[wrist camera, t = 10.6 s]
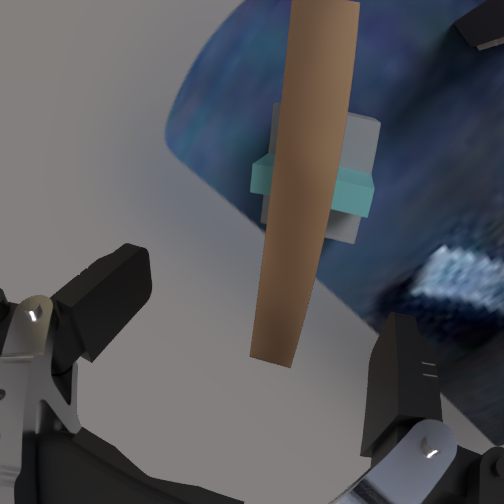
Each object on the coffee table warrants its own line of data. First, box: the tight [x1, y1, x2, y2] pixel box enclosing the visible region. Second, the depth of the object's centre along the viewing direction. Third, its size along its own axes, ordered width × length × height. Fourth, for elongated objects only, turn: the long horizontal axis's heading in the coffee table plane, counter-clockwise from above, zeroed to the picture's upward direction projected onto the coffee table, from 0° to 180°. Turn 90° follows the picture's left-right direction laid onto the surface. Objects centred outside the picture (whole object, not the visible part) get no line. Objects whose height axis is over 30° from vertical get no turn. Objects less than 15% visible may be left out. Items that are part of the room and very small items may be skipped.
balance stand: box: [250, 103, 381, 244], centre depth 24 cm, size 8×10×11 cm
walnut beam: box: [250, 0, 360, 368], centre depth 17 cm, size 3×22×5 cm, turn 175°
